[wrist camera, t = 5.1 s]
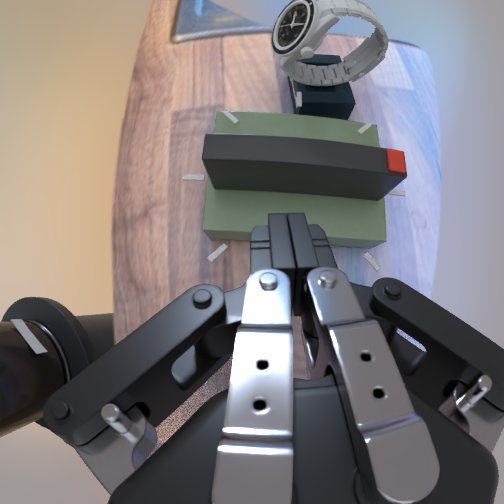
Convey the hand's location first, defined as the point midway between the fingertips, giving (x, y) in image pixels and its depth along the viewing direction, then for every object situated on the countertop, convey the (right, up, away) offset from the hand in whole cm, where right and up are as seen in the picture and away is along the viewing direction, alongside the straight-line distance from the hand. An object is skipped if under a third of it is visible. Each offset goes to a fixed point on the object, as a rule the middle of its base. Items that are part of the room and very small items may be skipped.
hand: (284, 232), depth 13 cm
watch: (+4, +13, +11) cm, 17 cm away
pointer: (+2, +4, +6) cm, 8 cm away
